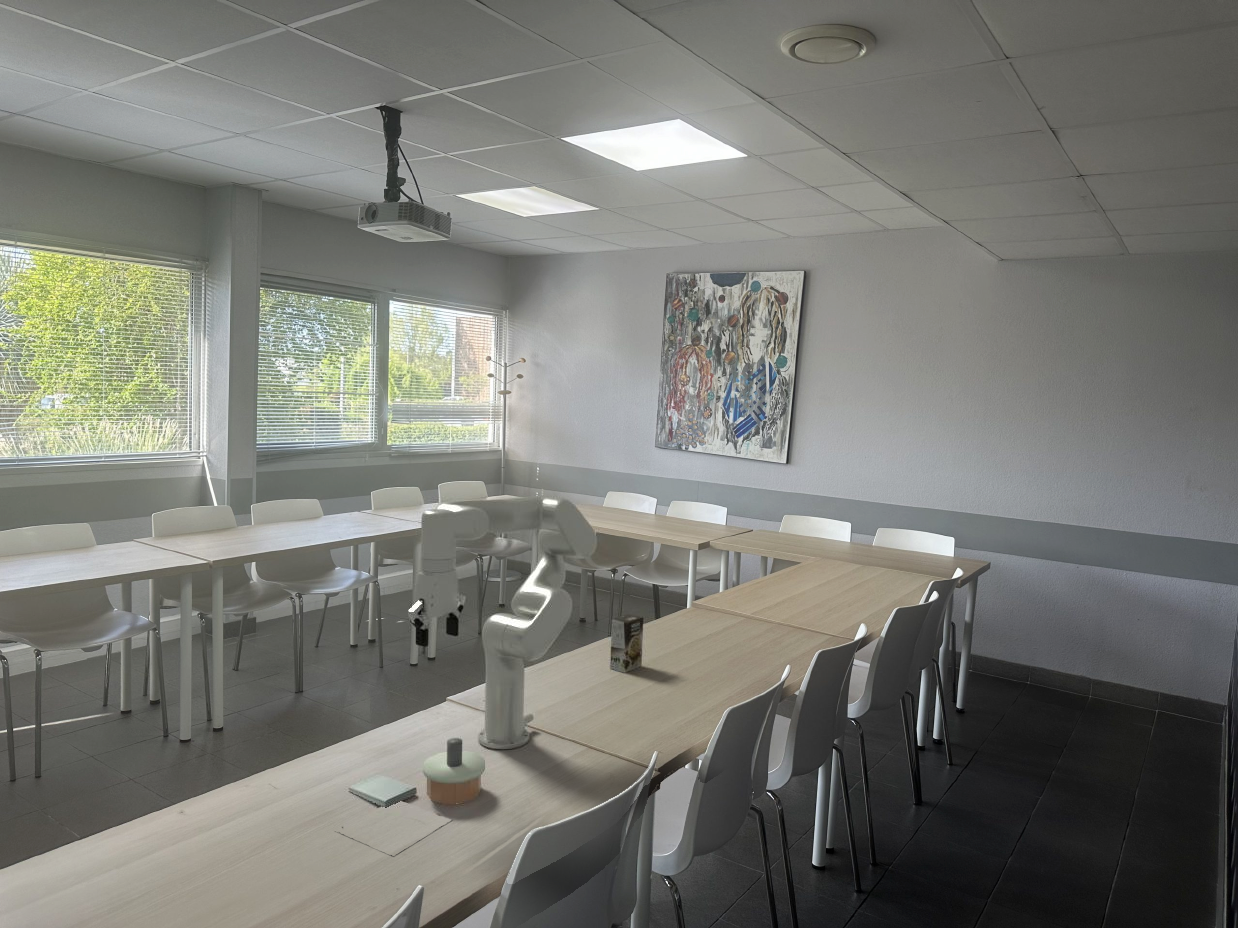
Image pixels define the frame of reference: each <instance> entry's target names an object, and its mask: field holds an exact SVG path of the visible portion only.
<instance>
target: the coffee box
mask: <svg viewBox="0 0 1238 928" xmlns="http://www.w3.org/2000/svg"><path fill="white" fill-rule="evenodd" d="M610 633H611V634H610V635H611V639H610V657H609V658H610V660H609V668H610V669H611V670H614V671H618V672H620V673H628V672H631V671H632V670H635V669H638V668H640V667H642V666H643V665H642V663H643V642H644V641H643V639H644V638H643V637H644V636H643V635H644V617H643V616H639V615H635V614H634V615H633V614H629V613H628V614H625V615H621V616H619V617H615V618H612V619H611V632H610Z"/></svg>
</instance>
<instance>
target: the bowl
mask: <svg viewBox="0 0 1238 928" xmlns="http://www.w3.org/2000/svg"><path fill="white" fill-rule="evenodd" d="M481 790H482V774H481V775H480V776H479V777H477V778H475V779H473V780H470V781H466V782H461V783H440V782H435V781H432V780H430V779H428V778H427V777H426V795H427V797H428V796H429V797H428V799H429V800H430V799H431V800H430V801H432V800H434V801H433V802H435V801H437V802H440V803H447V804H446V805H457V804H456V803H460V804H462V803H461V802H464V803H468V802H467V801H469V802H470V800H471V801H472V800H474V799H476V798H477V797H478V796H479V794H480V792H481ZM475 797H476V798H475ZM473 798H474V799H473ZM465 801H466V802H465ZM437 802H436V803H437ZM440 803H439V804H440Z"/></svg>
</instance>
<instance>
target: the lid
mask: <svg viewBox="0 0 1238 928" xmlns="http://www.w3.org/2000/svg"><path fill="white" fill-rule="evenodd" d="M422 766H423V767H422V772H423V775H424V777H425V778H426V779H427V778H428V779H430V780H432V781H435V782H440V783H461V782H466V781H470V780H473V779H475V778H477V777H479V776H480V775H481V776H482V775H483V773H484V772H486V771H485V770H486V759H485V758H484V757H483V756H482V755H480V754H478V753H476V752H472V751H469V750H463V739H462V738H459V737H453V738H452V737H451V738H449V739H447V741H446V751H442V752H438V753H436V754H434V755H432V756H430V757H428V758H427V759H426V760H425V761H424V762H423V765H422Z"/></svg>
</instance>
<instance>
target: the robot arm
mask: <svg viewBox="0 0 1238 928" xmlns="http://www.w3.org/2000/svg"><path fill="white" fill-rule="evenodd" d="M420 526H421V527H420V528H421V532H420V533H421V534H420V535H421V537H420V541H421V542H420V544H421V545H420V572H418V573H417V577H416V582H415V590H414V601H413V605H412V607H411V608H409V609H408V610H407V615H408V618H409V621H410V623H411V624H412V626H413V628H415V645H416V646H420V647H424V648H426V647H428V646H429V628H428V625H429V623H430V621H431V620H432V619H436V618H440V617H443V616H446V615H448V616H446V619H445V621H446V623H445V625H446V627H445V633H446V635H448V636H453V637H458V636H459V623H460V621H459V619H461V616H462V611H463V610H464V604H465V602H466V599H467V598H466V597H467V596H465V595H463V594H461V593H460V592H459V579H458V573H457V569H456V562H457V557H456V553H457V552H456V548H457V547H456V546H457V545H456V544H457V541H475V540H479V539H481V538H483V537H484V536H485V535H486V534H487V533H493V534H499V535H500V534H507V535H508V534H509V535H510V534H514V533H523V532H529V531H535V530H536V531H537V530H539V531H538V533H537V552H538V555H537V562H536V566H535V567H534V569H533V570H532V572H531V573H530V574H529V575H528V577H527V578H526V579H525V580H524V582H523V583H522V584H521V585H520V587H519V588H518V589H517V590H516V592H515V594H514V595H513V597H512V599H511V603H510V606H511V607H510V608H511V610H512V612H513V613H514V614H511V613H506V612H505V613H504V612H503V613H501V612H498V613H495V614H493V615H491V616H489V617H488V618H487V619H486V620H485V622H484V624H483V626H482V631H481V636H482V637H481V638H482V646H483V650H484V651H483V652H484V659H485V685H484V686H485V687H484V689H485V692H484V696H485V697H484V698H485V699H484V729H481V731H480V732H479V733H478V736H477V740H478V742H479V744H481V746H484V747H486V748H489V749H493V750H511V749H516V748H520V747H521V746H523V745H525V744H527V743H528V742H529V741H530V733H529V731H528V730H527V729H526V726H527V724H528V723H531V722H533V720H534V715H533V714H532V713H528V714H526V715H524V712H525V711H524V709H525V707H524V705H525V663H524V662H523V660H525V661H528V662H530V661H531V662H533V661H537V660H539V659H541V658H542V657H543V656H544V655H545V654H546V653H547V651H549V649H550V647H551V646H552V644H553V643H554V642H555V641H556V639H557V638H558V636H560V634H561V632H562V631H563V629H564V628H565V626H566V625H567V623H568V621H569V620H570V618H571V616H572V612H573V600H572V597H571V594H570V593H568V592H567V591H566V590H565V589H562V586H563V585H564V583H565V581H566V576H567V575H566V568H565V563H564V558H563V557H569V558H574V559H582V560H583V559H587V558H589V557H591V556H592V555H593V554H595V551H596V549H597V544H598V539H597V538H598V537H597V534H596V532H595V529H594V527H592V525H591V524H590V522H589V521H588V520H587V519H586V517H585V516H584V514H583V513H582V512H581V511H580V510H579V508H578V507H577V506H576V505H575V504H574V503H573V502H572V501H570V500H569V499H566V498H562V497H555V496H548V495H530V496H522V497H513V498H511V497H510V498H498V499H497V498H496V499H495V498H494V499H482V500H481V499H478V500H477V499H476V500H460V501H459V500H458V501H451V502H450V501H449V502H444V503H442V504H439V505H438V506H437V507H435V508H434V509H427V510H425V511H424V512H423V513H422V514H421V525H420Z"/></svg>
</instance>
